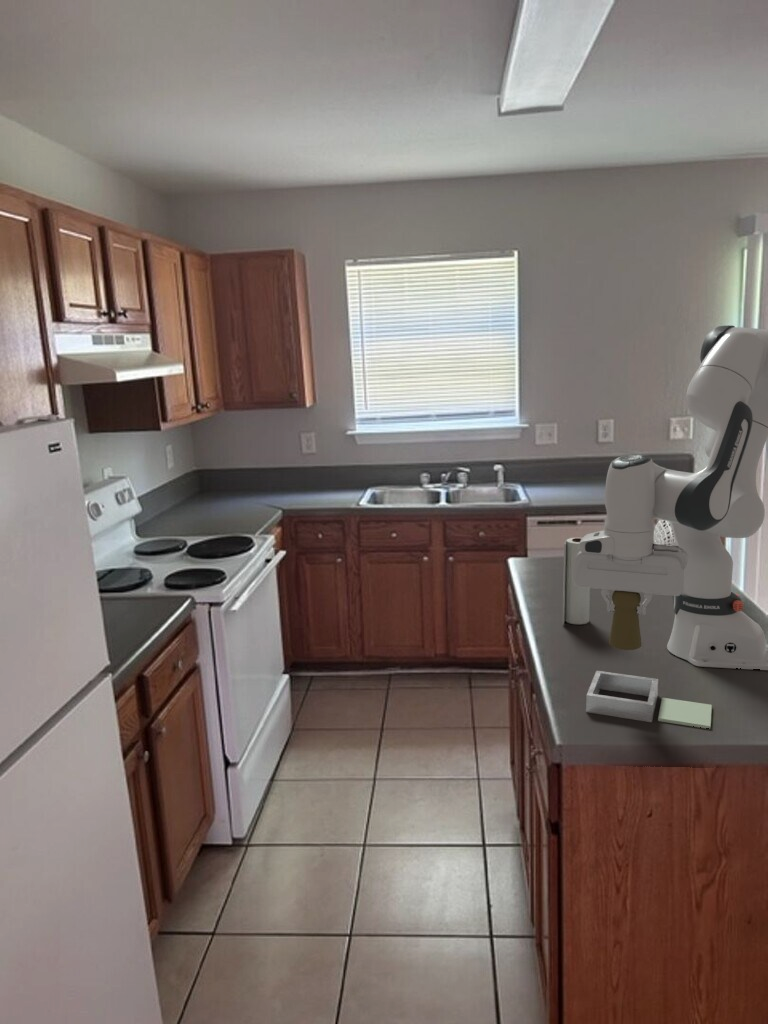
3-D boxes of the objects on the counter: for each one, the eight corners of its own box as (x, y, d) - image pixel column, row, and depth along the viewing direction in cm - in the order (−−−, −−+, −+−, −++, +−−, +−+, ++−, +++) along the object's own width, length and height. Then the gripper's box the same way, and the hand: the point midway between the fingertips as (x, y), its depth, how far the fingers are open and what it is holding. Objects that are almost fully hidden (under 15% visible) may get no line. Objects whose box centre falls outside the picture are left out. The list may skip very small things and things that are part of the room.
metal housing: (657, 695, 153) (658, 679, 152) (651, 722, 142) (652, 705, 142) (595, 686, 158) (596, 670, 157) (586, 711, 147) (586, 695, 147)
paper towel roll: (586, 616, 198) (588, 536, 193) (591, 625, 192) (593, 542, 187) (558, 617, 198) (559, 537, 193) (562, 625, 192) (564, 543, 188)
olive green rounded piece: (634, 637, 151) (636, 583, 148) (646, 649, 145) (648, 593, 142) (604, 638, 150) (605, 585, 148) (614, 650, 145) (616, 595, 142)
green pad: (711, 707, 147) (711, 704, 147) (710, 729, 139) (710, 726, 139) (662, 700, 151) (662, 697, 151) (658, 720, 143) (658, 717, 143)
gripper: (688, 542, 142) (685, 612, 145) (576, 534, 150) (575, 601, 153) (687, 550, 136) (683, 624, 139) (570, 542, 145) (569, 612, 148)
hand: (626, 612), depth 146 cm, fingers closed on olive green rounded piece, 4 cm apart
